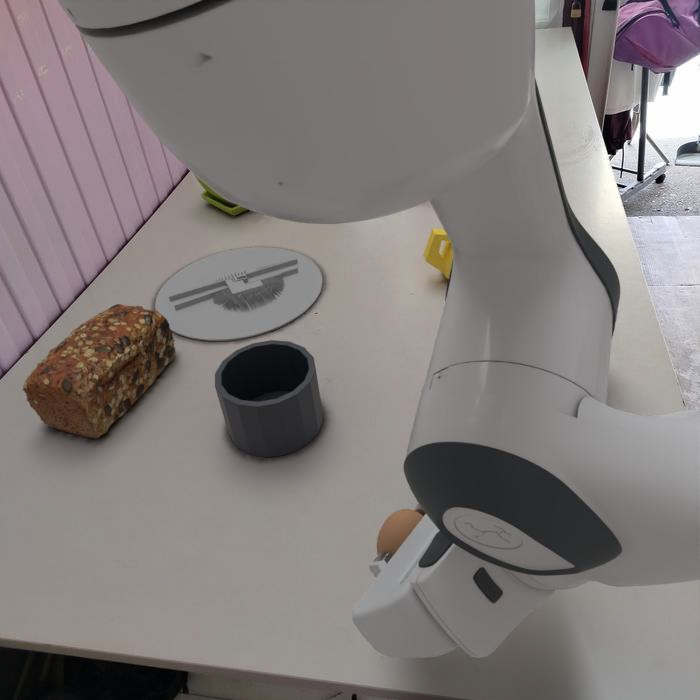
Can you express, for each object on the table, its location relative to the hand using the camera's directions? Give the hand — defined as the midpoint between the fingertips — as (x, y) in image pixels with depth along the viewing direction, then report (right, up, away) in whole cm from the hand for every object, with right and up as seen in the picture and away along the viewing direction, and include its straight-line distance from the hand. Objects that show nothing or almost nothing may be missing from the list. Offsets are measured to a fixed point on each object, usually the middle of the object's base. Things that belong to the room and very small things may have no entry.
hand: (400, 540), depth 54 cm
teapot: (+17, +30, +52) cm, 62 cm away
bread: (-37, +10, +35) cm, 52 cm away
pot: (-14, +7, +27) cm, 31 cm away
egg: (+1, -4, +2) cm, 5 cm away
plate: (-23, +26, +53) cm, 63 cm away
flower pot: (-27, +47, +80) cm, 97 cm away
